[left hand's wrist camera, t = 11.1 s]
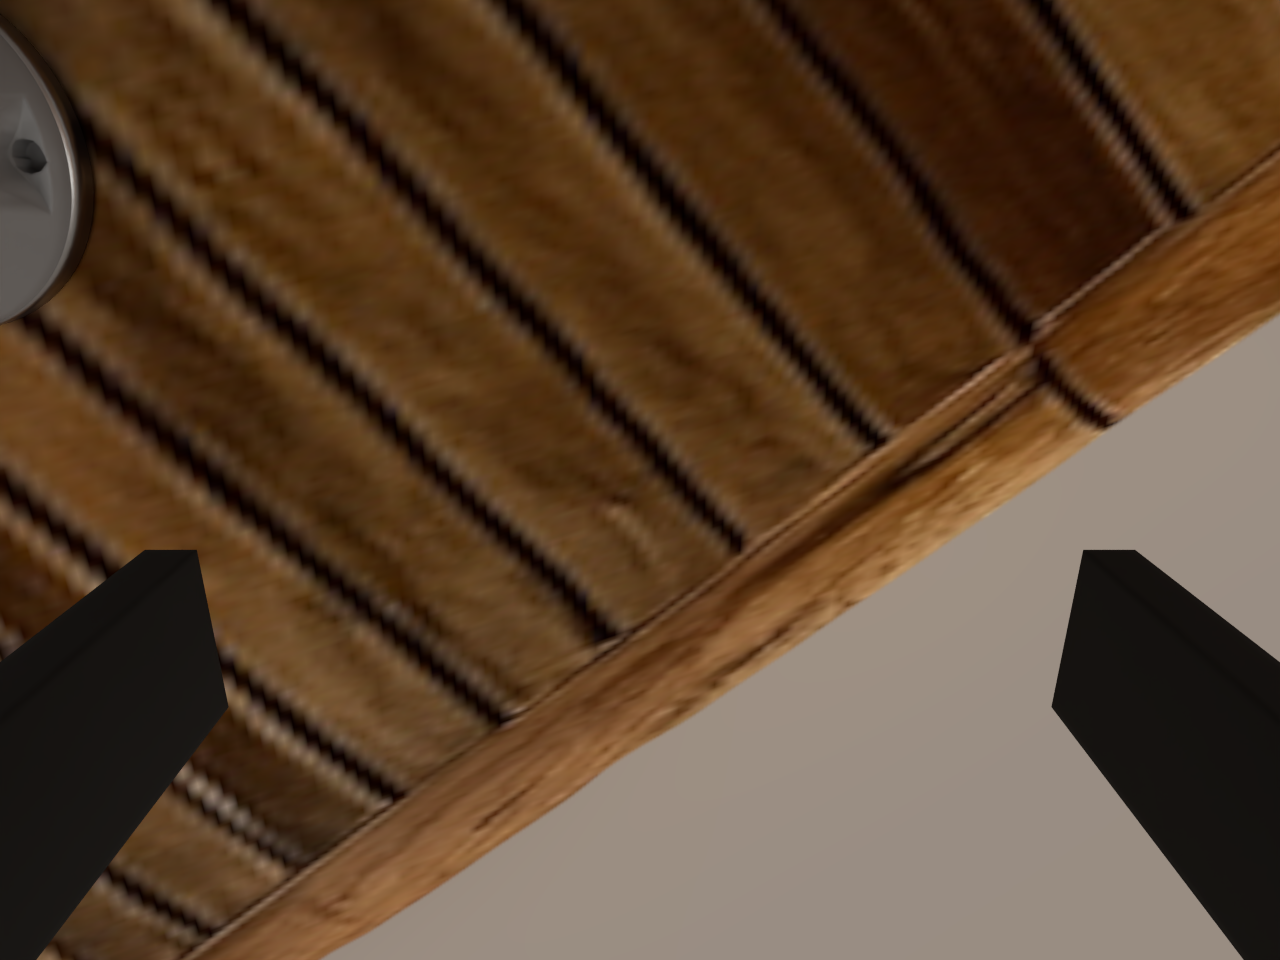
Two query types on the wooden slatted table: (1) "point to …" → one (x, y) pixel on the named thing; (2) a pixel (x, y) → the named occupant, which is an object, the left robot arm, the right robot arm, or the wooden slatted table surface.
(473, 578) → the wooden slatted table surface
